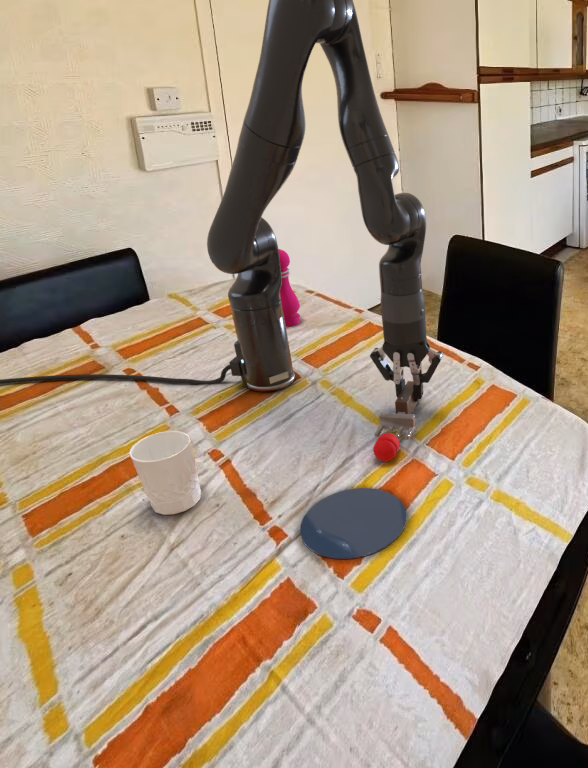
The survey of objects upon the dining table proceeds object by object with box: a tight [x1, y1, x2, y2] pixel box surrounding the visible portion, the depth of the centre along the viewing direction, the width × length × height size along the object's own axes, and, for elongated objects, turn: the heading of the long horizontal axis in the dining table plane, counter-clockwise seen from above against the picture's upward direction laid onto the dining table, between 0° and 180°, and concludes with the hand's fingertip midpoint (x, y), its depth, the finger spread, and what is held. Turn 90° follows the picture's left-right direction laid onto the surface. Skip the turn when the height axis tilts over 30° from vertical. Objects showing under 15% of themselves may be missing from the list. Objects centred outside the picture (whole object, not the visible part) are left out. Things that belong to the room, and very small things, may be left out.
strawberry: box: [372, 431, 400, 462], centre depth 103 cm, size 4×5×4 cm
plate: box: [299, 487, 408, 560], centre depth 89 cm, size 15×15×1 cm
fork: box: [373, 380, 419, 441], centre depth 112 cm, size 16×6×4 cm, turn 173°
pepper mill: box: [278, 248, 301, 328], centre depth 150 cm, size 7×7×20 cm
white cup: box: [129, 430, 202, 516], centre depth 91 cm, size 8×8×10 cm
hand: (410, 399), depth 117 cm, fingers closed on fork, 2 cm apart
